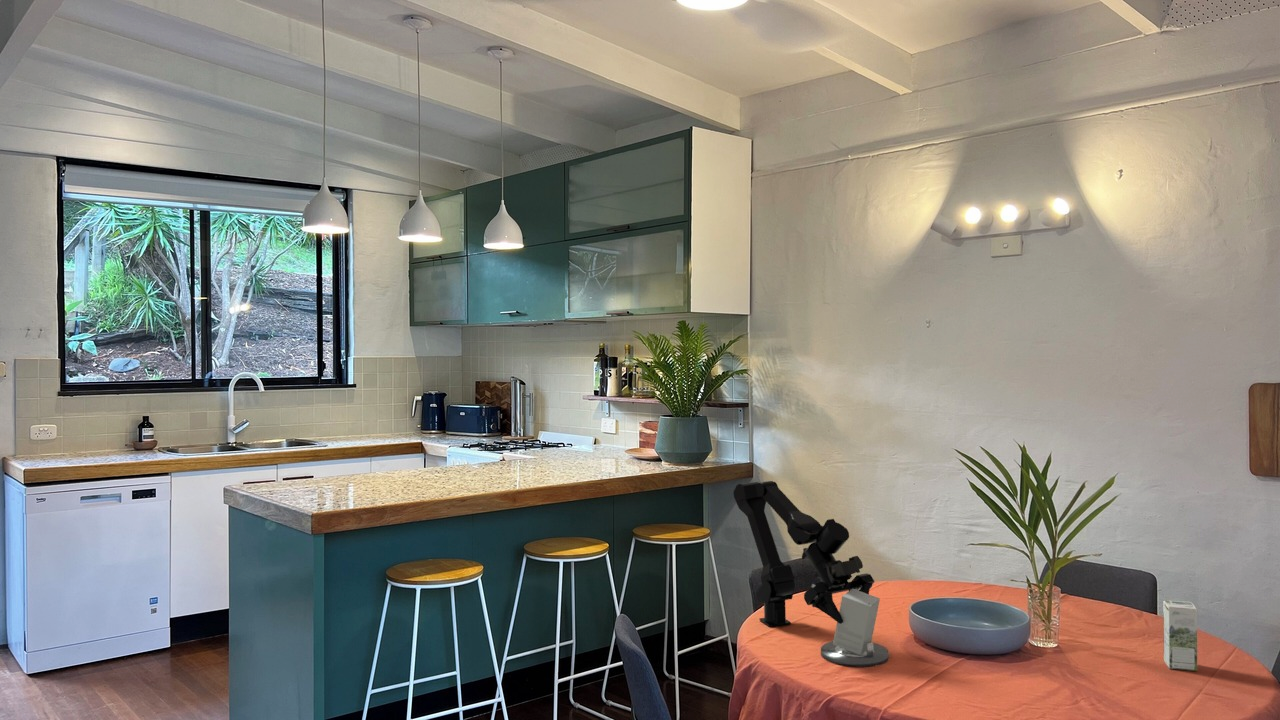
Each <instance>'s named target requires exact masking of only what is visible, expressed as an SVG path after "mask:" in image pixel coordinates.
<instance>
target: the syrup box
mask: <svg viewBox="0 0 1280 720" xmlns="http://www.w3.org/2000/svg"><path fill="white" fill-rule="evenodd" d="M1162 605H1163V609H1162V610H1163V620H1162V621H1163V661H1164V663H1165V664H1166V666H1167V667H1168V668H1169V670H1178V671H1179V670H1180V671H1188V672H1189V671H1190V672H1192V671H1193V672H1197V671H1198V609H1197V607H1196V606H1195V604H1194V603H1193V602H1191V601H1183V600H1167V599H1165V600H1163V604H1162Z"/></svg>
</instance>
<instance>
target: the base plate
mask: <svg viewBox="0 0 1280 720" xmlns="http://www.w3.org/2000/svg"><path fill="white" fill-rule="evenodd" d="M833 641H834V640H831V641H828V642H826V643H823V644H822V645H821V647H820V656H821V657H822V658H823V659H824V660H825V659H826V660H825V661H827V662H830V663H832V664H834V663H835V665H838V666H842V667H851V668H869V667H870V668H871V667H877V666H881V665H883V664H886V663H887V662H888V661H889V660H888V659H890V651H889V649H888V648H887V647H885V646H883V645H881V644H879V643H877V642H873V641H871V642H866V651H865V652H864V653H863V654H862V655H858V654H856V653H853V652H851V651H848V650H846V649H843V648H841V647H838V646H836V645H833ZM876 665H877V666H876Z"/></svg>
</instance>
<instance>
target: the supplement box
mask: <svg viewBox="0 0 1280 720" xmlns="http://www.w3.org/2000/svg"><path fill="white" fill-rule="evenodd" d="M880 600H881V598H879V597H878V596H874V595H871V594H870V593H869V594H866V593H863V592H861V591H858V590H855V589H851V590H850V591H846V593H844V594H843V595H841V601H840V606H839V609H838V611H839V613H840V615H841V617H842V619H843V623H842V624H840V623H838V622H837V621H836V626H835V631H834V637H833V640H832V641H833V645H836V646H838V647H841V648H843V649H846V650H848V651H851V652H853V653H856V654H858V655H862V654H863V653H864V652H865V651H866V642H873V640H872V639H873V636H874V635H873V634H874V631H875V625H876V620H877V616H878V610H879V607H880V606H879V605H880Z"/></svg>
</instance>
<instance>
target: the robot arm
mask: <svg viewBox="0 0 1280 720" xmlns="http://www.w3.org/2000/svg"><path fill="white" fill-rule="evenodd" d="M732 495H733V498H734V501H735V503H736V505H737V508H738V509H739V510H740V511H741V512H742V513H743V514H744V515H745V516H746V517H747V520H748V523H749V526H750V528H751V529H750V530H751V532H752V536H753V538H754V539H753V540H754V543H755V545H756V548H757V551H758V555H759V558H760V561H761V564H762V571H761V575H760V580H761V585H760V586H759V588H757V590H756V591H755V597H756V600H757V601H758V602H761V603H763V614H764V616H763V617H761V618H759V621H760V622H761V623H763V624H764V625H766V626H768V627H770V628H771V627H780V626H785V625H791V624H792V621H790V620H788V619H787V617H786V614H787V613H786V601H789V600H792V599H793V597H794V596H793V595H794V592H795V588H796V577H795V576H794V574H793V570H792V567H791V565H790V564H786V565H785V563H783V562H782V560H781V558H780V555H779V551H778V548H777V546H776V543H775V540H774V537H773V534H772V531H771V527H770V524H769V521H768V518H767V514H766V513H765V509H766V506H767V505H766V504H768V506H770V507H771V509H772V510H773V511H774V512H775V513H776V514H777V515H778V517H779V518H780V519H781V520H782V521H783V522H784V524H785V525H786V527H787V528H786V529H787V533H788V535H789V536H790V538H791V539H792V541H793V542H794V543H795V544H796V545H797V546H802V545H808V544H809V545H808V547H805V548H803V550H802V554H801V558H802V560H809V562H810V563H811V565H812V567H813V569H814V570H815V572H816V573H814V577H815V579H818V580H819V579H820V581H821V582H816V583H815V582H814V583H812V584H811V585H810V586H809V587H808V589H807V590H806V591H805V592H804V593H803V599H804V600H803V601H805V603H806V604H807V606H811V607H812V608H816V609H818V610H819V611H820V612H823V613H824V614H826V615H827V616H828V617H830V618H831V619H833V620H834V621H836V623H837V622H838V623H840V624H842V623H843V619H842V617H841V615H840V613H839V609H838V607H837V606H836V603H835V601H834V599H833V594H838V593H842V592H849V591H850V590H851V589H855V590H858V591H861V592H863V593H866V594H869V595H870V589H871V588H872V587H873V584H874V583H875V580H874V578H873V576H872V575H871V574H870V573H862V574H861V571H860V570H861V569H863V567H864V565H863V561H862V559H861V558H860V557H859V556H858V555H855V556H852V557H849V558H848V560H844V561H842V560H841V559H840V560H839V559H838V560H836V558H835V557H834V554H837V552H839V550H840V549H841V548H842V547H843V546H844V544H845V543H846V542H847V541H848V540H849V538H850V532H849V530H848V529H847V527H845V526H844V525H842V524H841V523H840V522H836V520H835V519H834V518H831V519H830V518H829V519H827V520H825V522H824V524H823V525H821V523H820V522H819V521H818V520H816V519H815V518H814V517H813V516H811V515H810V514H807V513H805V512H802V511H801V510H799V508H798V507H797V506H796V505H795V504H794V503H793V501H791V500H790V499H789V497H788V496H786V494H785V493H784V492H783V491H782V490H781V489H780V488H779V486H778V484H777V482H775V481H773V480H768V481H767V480H766V481H761V482H758V481H754V482H753V481H752V482H751V481H750V482H746V483H745V482H744V483H738V484H736V486H735V488H734V490H733V494H732ZM856 573H857V574H856ZM859 573H860V574H859ZM853 574H856V575H855V577H854V578H853V579H852V577H853V576H852V575H853ZM851 579H852V580H851ZM849 580H851V581H849Z"/></svg>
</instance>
